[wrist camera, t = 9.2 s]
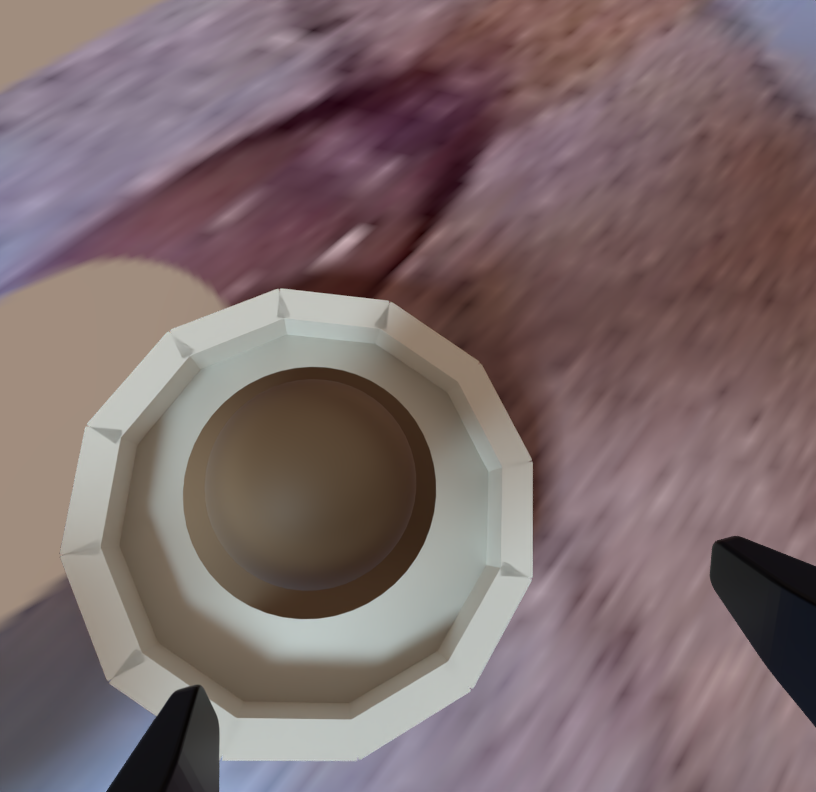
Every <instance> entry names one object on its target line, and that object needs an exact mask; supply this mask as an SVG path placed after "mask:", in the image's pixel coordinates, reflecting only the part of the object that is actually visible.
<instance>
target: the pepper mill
mask: <svg viewBox="0 0 816 792" xmlns="http://www.w3.org/2000/svg"><path fill="white" fill-rule="evenodd" d="M435 501H436V477H435V469H434V463H433V460H432V456H431V452H430V449H429V446H428V444H427V442H426V439H425V437H424V435H423V433H422V431H421V429H420V427H419V426H418V424H417V422H416V421H415V419H414V418H413V417H412V415H411V414H410V413H409V411H408V410H407V409H406V408H405V407H404V406H403V405H402V404H401V403H400V402H399V401H398V400H397V399H396V398H395V397H394V396H393V395H391V394H390V393H389V392H388V391H386V390H385V389H384V388H382V387H380V386H379V385H377V384H375V383H374V382H372V381H370V380H368V379H366V378H364V377H361V376H359V375H357V374H353V373H350V372H347V371H344V370H339V369H333V368H327V367H301V368H293V369H288V370H283V371H279V372H276V373H273V374H270V375H267V376H264V377H262V378H260V379H258V380H256V381H254V382H252V383H250V384H248V385H247V386H245V387H243V388H242V389H240V390H239V391H237V392H236V393H235V394H233V395H232V396H231V397H230V398H229V399H227V400H226V401H225V402H224V403H223V404H222V405H221V406H220V407H219V408H218V409H217V410H216V411H215V413H214V414H213V415H212V416H211V417H210V419H209V420H208V422H207V423H206V424H205V426H204V427H203V429H202V430H201V432H200V434H199V436H198V438H197V440H196V442H195V443H194V446H193V449H192V451H191V454H190V457H189V459H188V463H187V468H186V472H185V476H184V486H183V510H184V516H185V521H186V527H187V530H188V533H189V536H190V539H191V542H192V545H193V547H194V549H195V551H196V553H197V555H198V557H199V559H200V560H201V562H202V563H203V565H204V566H205V568H206V569H207V571H208V572H209V574H210V575H211V576H212V577H213V578H214V579H215V580H216V581H217V582H218V583H219V584H220V585H221V586H222V587H223V588H224V589H225V590H226V591H228V592H229V593H230V594H231V595H233V596H234V597H235V598H237V599H239V600H240V601H242V602H244V603H245V604H247V605H249V606H251V607H253V608H255V609H258V610H260V611H262V612H265V613H268V614H272V615H276V616H280V617H285V618H293V619H320V618H326V617H332V616H337V615H340V614H343V613H347V612H350V611H353V610H355V609H357V608H359V607H361V606H364V605H366V604H368V603H369V602H371V601H373V600H374V599H376V598H377V597H379V596H381V595H382V594H383V593H385V592H386V591H387V590H388V589H389V588H391V587H392V586H393V585H394V584H395V583H396V582H397V581H398V580H399V579H400V578H401V577H402V576H403V575H404V574H405V573H406V572H407V570H408V569H409V567H410V566H411V565H412V563H413V562H414V561H415V559H416V558H417V556H418V554H419V552H420V550H421V549H422V547H423V545H424V543H425V540H426V538H427V535H428V533H429V530H430V527H431V523H432V519H433V515H434V510H435Z"/></svg>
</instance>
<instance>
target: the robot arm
mask: <svg viewBox="0 0 816 792" xmlns="http://www.w3.org/2000/svg"><path fill="white" fill-rule="evenodd" d="M710 580H711V583H712V586H713V588H714V590H715V591H716V593H717V594H718V596H719V597H720V599H721V600H722V602H723V603H724V605H725V606H726V608H727V609H728V611H729V612H730V614H731V615H732V617H733V618H734V620H735V621H736V622H737V624H738V625H739V627H740V628H741V630H742V631H743V633H744V634H745V636H746V637H747V639H748V640H749V642H750V643H751V645H752V646H753V648H754V649H755V651H756V652H757V654H758V655H759V656H760V658H761V659H762V661H763V662H764V663H765V665H766V666H767V668H768V669H769V670H770V672H771V673H772V674H773V675H774V677H775V678H776V679H777V680H778V682H779V683H780V684H781V685H782V687H783V688H784V689H785V690H786V692H787V693H788V694H789V695H790V696H791V698H792V699H793V700H794V701H795V703H796V704H797V705H798V706H799V707H800V709H801V710H802V711H803V712H804V714H805V715H806V716H807V717H808V718H809V720H810V721H811V722H812V723H813V725H814V726H815V727H816V566H814V565H811V564H809V563H806V562H804V561H801V560H798V559H796V558H793V557H791V556H788V555H786V554H783V553H781V552H778V551H776V550H773V549H771V548H768V547H766V546H763V545H760V544H758V543H755V542H753V541H750V540H748V539H745V538H743V537H740V536H732V537H728V538H724V539H721V540H717V541H716V542H715V543H714V544H713V546H712V555H711V566H710ZM219 746H220V729H219V721H218V717H217V715H216V712H215V710H214V708H213V706H212V704H211V702H210V700H209V698H208V695H207V693H206V691H205V689H204V688H203V686H201V685H200V684H196V685H192V686H188V687H185V688H181V689H178V690H176V691H174V692H173V693H172V694H171V696H170V697H169V699H168V700H167V702H166V703H165V705H164V706H163V708H162V709H161V711H160V712H159V714H158V715H157V717H156V718H155V719H154V721H153V722H152V724H151V725H150V727H149V728H148V730H147V731H146V733H145V734H144V736H143V737H142V739H141V740H140V742H139V743H138V745H137V746H136V748H135V749H134V751H133V752H132V754H131V755H130V757H129V758H128V760H127V761H126V763H125V764H124V766H123V767H122V769H121V770H120V772H119V773H118V775H117V776H116V778H115V779H114V781H113V782H112V784H111V785H110V787H109V788H108V790H107V791H106V792H219Z"/></svg>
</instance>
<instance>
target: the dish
mask: <svg viewBox="0 0 816 792" xmlns="http://www.w3.org/2000/svg"><path fill="white" fill-rule="evenodd" d="M170 331H171V333H170V332H167V333H166V334H165V335H164V336H163V337H162V338H161V340H160V341H159V342H158V343H157V344H156V345H155V347H154V348H153V349H152V350H151V351H150V352H149V354H148V355H147V356H146V357H145V358H144V359H143V360H142V361H141V363H140V364H139V365H138V366H137V367H136V368H135V369H134V371H133V372H132V373H131V374H130V375H129V376H128V377H127V379H126V380H125V381H124V382H123V383H122V384H121V385H120V387H119V388H118V389H117V390H116V391H115V393H113V395H112V396H111V397H110V398H109V399H108V401H107V402H106V403H105V404H104V405H103V406H102V407H101V409H100V410H99V411H98V412H97V413H96V414H95V415H94V416H93V418H92V419H91V420H90V421H89V422H88V423H87V425H88V426H90V427H85V431H84V436H83V441H82V446H81V451H80V456H79V460H78V465H77V470H76V476H75V480H74V485H73V490H72V495H71V500H70V505H69V510H68V515H67V520H66V525H65V529H64V534H63V539H62V544H61V549H60V554H65V555H62V556H60V559H61V561H62V564H63V567H64V569H65V572H66V575H67V577H68V580H69V582H70V585H71V588H72V590H73V593H74V596H75V598H76V601H77V603H78V606H79V609H80V611H81V614H82V617H83V619H84V622H85V624H86V627H87V630H88V632H89V635H90V637H91V640H92V643H93V645H94V648H95V651H96V653H97V656H98V658H99V661H100V664H101V666H102V669H103V672H104V674H105V677H106V679H107V681H109V680H111V679H112V680H111V681H110V683H109V684H110V685H112V686H113V687H115V688H116V689H118V690H119V691H121V692H122V693H123V694H125V695H126V696H128V697H129V698H131V699H132V700H134V701H135V702H137V703H138V704H139V705H141V706H142V707H144V708H145V709H147V710H148V711H150V712H151V713H153V714H154V715H155V716H157V715H158V714H159V712H160V711H161V709H162V708H163V706H164V705H165V703H166V702H167V700H168V699H169V697H170V696H171V694H172V693H173V692H174V691H176V690H178V689H181V688H185V687H188V686H192V685H196V684H200V685H201V686H203V688H204V689H205V691H206V693H207V695H208V698H209V700H210V702H211V704H212V706H213V708H214V710H215V712H216V715H217V717H218V721H219V729H220V746H219V760H220V759H221V757H222V756H223V759H222V761H357V756H358V758H359V760H361V759H362V758H364V757H366V756H367V755H369V754H370V753H372V752H374V751H375V750H377V749H379V748H380V747H382V746H383V745H385V744H387V743H388V742H390V741H391V740H393V739H395V738H396V737H398V736H399V735H401V734H403V733H404V732H406V731H407V730H409V729H411V728H412V727H414V726H416V725H417V724H419V723H420V722H422V721H424V720H425V719H427V718H428V717H430V716H432V715H433V714H435V713H436V712H438V711H440V710H441V709H443V708H445V707H446V706H448V705H449V704H451V703H453V702H454V701H456V700H457V699H459V698H461V697H462V696H464V695H465V694H467V693H469V692H470V691H471V690H470V688H472V689H473V688H474V686H475V684H476V682H477V681H478V679H479V677H480V675H481V673H482V671H483V669H484V668H485V666H486V664H487V662H488V660H489V658H490V657H491V655H492V653H493V651H494V649H495V647H496V645H497V644H498V642H499V640H500V638H501V636H502V634H503V633H504V631H505V629H506V627H507V625H508V623H509V622H510V620H511V618H512V616H513V614H514V612H515V610H516V609H517V607H518V605H519V603H520V601H521V599H522V598H523V596H524V594H525V592H526V590H527V588H528V586H529V585H530V583H531V581H532V580H531V579H530V578H533V462H529V461H531V460H532V459H531V457H530V455H529V453H528V451H527V449H526V447H525V445H524V443H523V442H522V440H521V438H520V436H519V434H518V432H517V430H516V428H515V426H514V425H513V423H512V421H511V419H510V417H509V415H508V413H507V411H506V409H505V408H504V406H503V404H502V402H501V400H500V398H499V396H498V394H497V392H496V391H495V389H494V387H493V385H492V383H491V381H490V379H489V377H488V375H487V374H486V372H485V370H484V368H483V366H482V364H479V361H478V360H476V359H475V358H473V357H472V356H470V355H469V354H468V353H466V352H465V351H463V350H462V349H460V348H459V347H457V346H456V345H454V344H453V343H451V342H450V341H448V340H447V339H445V338H444V337H443V336H441V335H440V334H438V333H437V332H435V331H434V330H432V329H431V328H429V327H428V326H426V325H425V324H423V323H422V322H420V321H419V320H418V319H416V318H415V317H413V316H412V315H410V314H409V313H407V312H406V311H404V310H403V309H401V308H400V307H398V306H397V305H395V304H394V303H393V302H390V304H389V301H386V300H378V299H369V298H360V297H352V296H343V295H334V294H326V293H317V292H308V291H300V290H291V289H282V288H280V292H279V289H276V290H273V291H270V292H268V293H265V294H262V295H260V296H257V297H255V298H252V299H249V300H247V301H244V302H242V303H239V304H236V305H234V306H231V307H228V308H226V309H223V310H221V311H218V312H215V313H213V314H211V315H207V316H205V317H202V318H200V319H197V320H194V321H192V322H189V323H187V324H184V325H181V326H179V327H176V328H174V329H171V330H170ZM478 364H479V365H478ZM301 367H327V368H333V369H339V370H344V371H347V372H350V373H353V374H357V375H359V376H361V377H364V378H366V379H368V380H370V381H372V382H374V383H375V384H377V385H379V386H380V387H382V388H384V389H385V390H386V391H388V392H389V393H390V394H391V395H393V396H394V397H395V398H396V399H397V400H398V401H399V402H400V403H401V404H402V405H403V406H404V407H405V408H406V409H407V410H408V411H409V413H410V414H411V415H412V417H413V418H414V419H415V421H416V422H417V424H418V426H419V427H420V429H421V431H422V433H423V435H424V437H425V439H426V442H427V444H428V446H429V449H430V452H431V456H432V460H433V463H434V469H435V477H436V501H435V510H434V515H433V519H432V523H431V527H430V530H429V533H428V535H427V538H426V540H425V543H424V545H423V547H422V549H421V550H420V552H419V554H418V556H417V558H416V559H415V561H414V562H413V563H412V565H411V566H410V567H409V569H408V570H407V572H406V573H405V574H404V575H403V576H402V577H401V578H400V579H399V580H398V581H397V582H396V583H395V584H394V585H393V586H392V587H391V588H389V589H388V590H387V591H386V592H385V593H383V594H382V595H381V596H379V597H377V598H376V599H374V600H373V601H371V602H369V603H368V604H366V605H364V606H361V607H359V608H357V609H355V610H353V611H350V612H347V613H343V614H340V615H337V616H332V617H326V618H320V619H293V618H285V617H280V616H276V615H272V614H268V613H265V612H262V611H260V610H258V609H255V608H253V607H251V606H249V605H247V604H245V603H244V602H242V601H240V600H239V599H237V598H235V597H234V596H233V595H231V594H230V593H229V592H228V591H226V590H225V589H224V588H223V587H222V586H221V585H220V584H219V583H218V582H217V581H216V580H215V579H214V578H213V577H212V576H211V575H210V574H209V572H208V571H207V569H206V568H205V566H204V565H203V563H202V562H201V560H200V559H199V557H198V555H197V553H196V551H195V549H194V547H193V545H192V542H191V539H190V536H189V533H188V530H187V527H186V521H185V516H184V510H183V486H184V476H185V472H186V468H187V463H188V459H189V457H190V454H191V451H192V449H193V446H194V443H195V442H196V440H197V438H198V436H199V434H200V432H201V430H202V429H203V427H204V426H205V424H206V423H207V422H208V420H209V419H210V417H211V416H212V415H213V414H214V413H215V411H216V410H217V409H218V408H219V407H220V406H221V405H222V404H223V403H224V402H225V401H226V400H227V399H229V398H230V397H231V396H232V395H233V394H235V393H236V392H237V391H239V390H240V389H242V388H243V387H245V386H247V385H248V384H250V383H252V382H254V381H256V380H258V379H260V378H262V377H264V376H267V375H270V374H273V373H276V372H279V371H283V370H288V369H293V368H301ZM528 577H530V578H528ZM469 687H470V688H469Z"/></svg>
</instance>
